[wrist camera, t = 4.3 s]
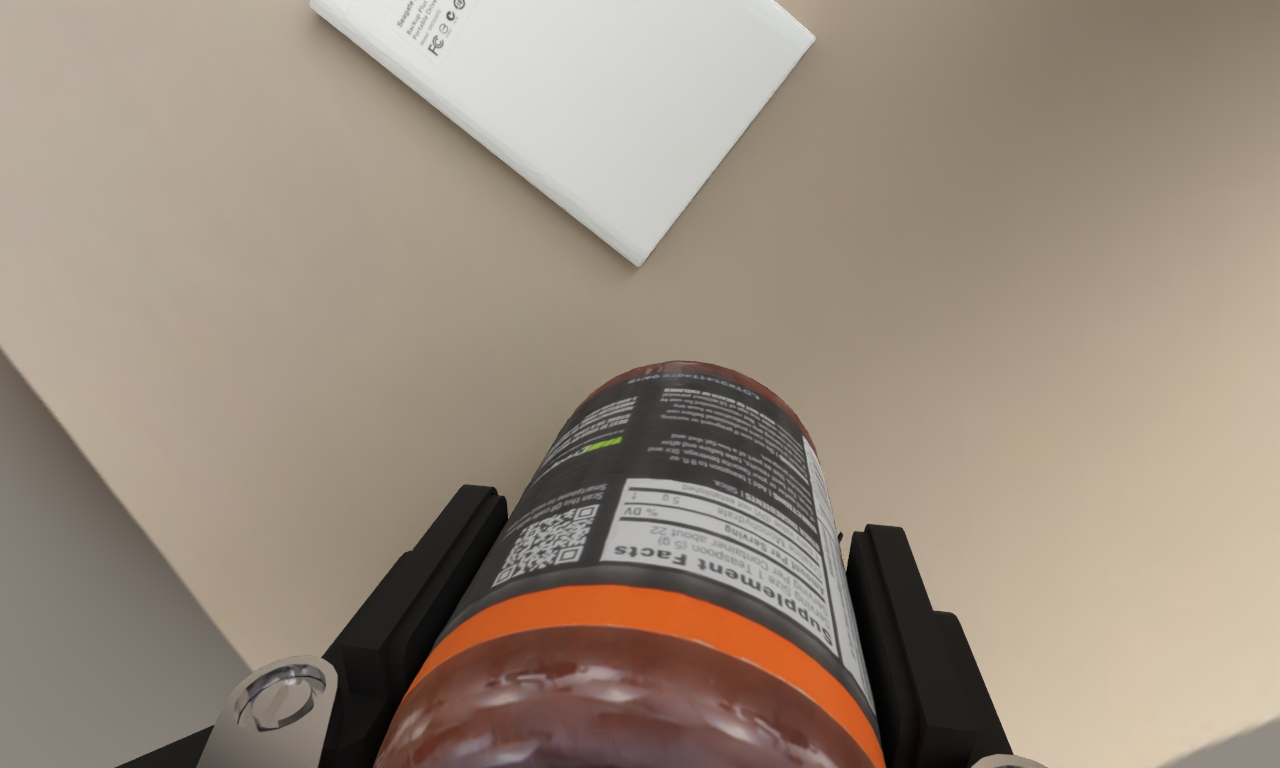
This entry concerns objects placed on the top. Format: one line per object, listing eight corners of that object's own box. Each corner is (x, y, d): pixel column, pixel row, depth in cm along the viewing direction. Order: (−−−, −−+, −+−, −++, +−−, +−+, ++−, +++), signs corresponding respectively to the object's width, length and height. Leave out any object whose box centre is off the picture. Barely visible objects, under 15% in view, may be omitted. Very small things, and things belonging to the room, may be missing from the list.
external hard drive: (643, 261, 22) (331, 14, 21) (811, 43, 19) (463, -264, 18) (637, 270, 21) (300, 4, 19) (819, 35, 18) (439, -302, 16)
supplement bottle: (715, 621, 16) (653, 1498, 6) (515, 489, 16) (65, 1208, 5) (883, 455, 14) (1260, 1444, 4) (654, 294, 13) (321, 913, 3)
